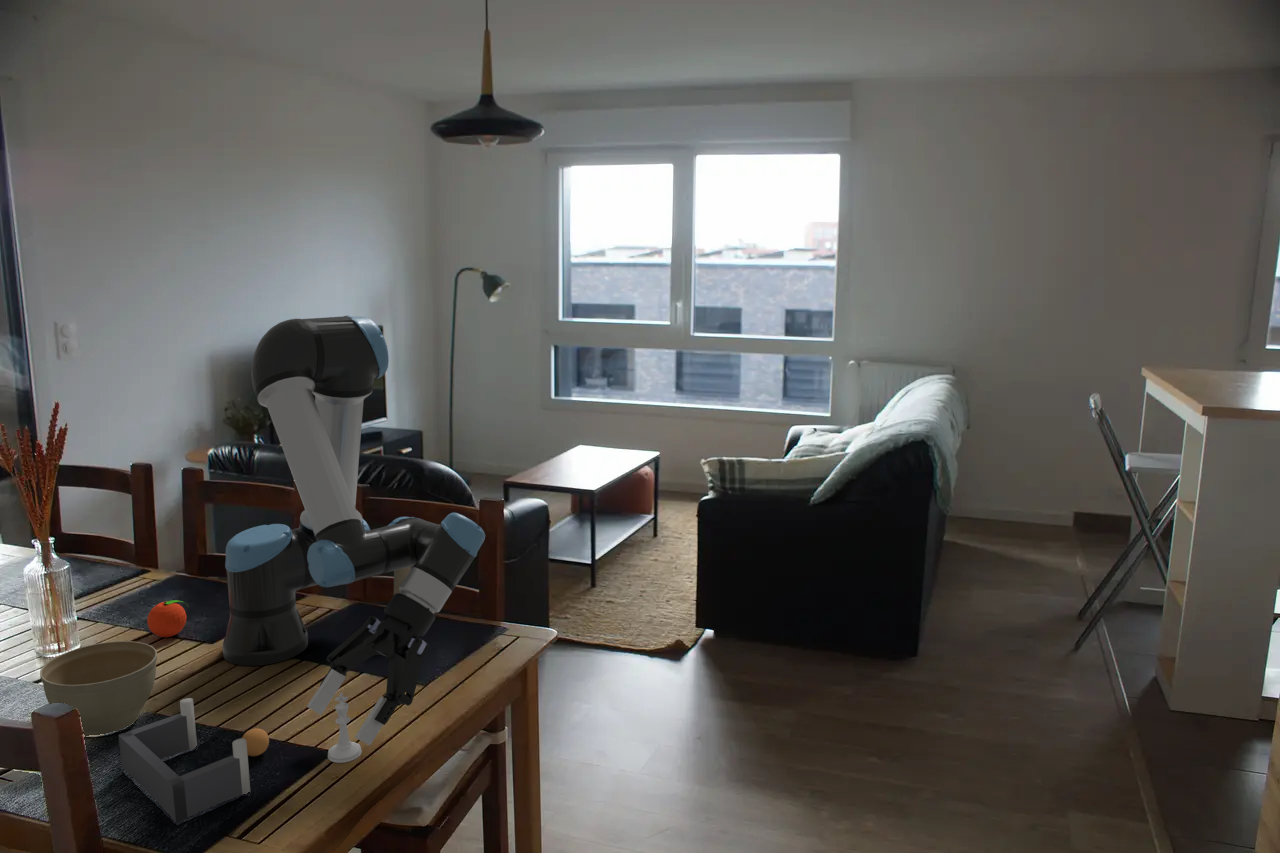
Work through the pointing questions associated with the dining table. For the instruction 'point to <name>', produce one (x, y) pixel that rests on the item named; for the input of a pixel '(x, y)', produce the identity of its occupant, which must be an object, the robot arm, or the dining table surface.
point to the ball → (256, 741)
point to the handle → (400, 578)
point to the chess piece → (343, 736)
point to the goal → (190, 789)
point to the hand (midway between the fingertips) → (337, 725)
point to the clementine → (167, 618)
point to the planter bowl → (102, 683)
